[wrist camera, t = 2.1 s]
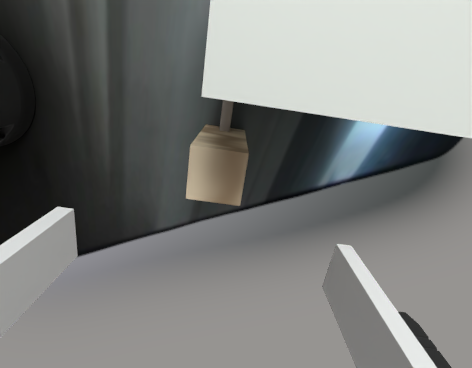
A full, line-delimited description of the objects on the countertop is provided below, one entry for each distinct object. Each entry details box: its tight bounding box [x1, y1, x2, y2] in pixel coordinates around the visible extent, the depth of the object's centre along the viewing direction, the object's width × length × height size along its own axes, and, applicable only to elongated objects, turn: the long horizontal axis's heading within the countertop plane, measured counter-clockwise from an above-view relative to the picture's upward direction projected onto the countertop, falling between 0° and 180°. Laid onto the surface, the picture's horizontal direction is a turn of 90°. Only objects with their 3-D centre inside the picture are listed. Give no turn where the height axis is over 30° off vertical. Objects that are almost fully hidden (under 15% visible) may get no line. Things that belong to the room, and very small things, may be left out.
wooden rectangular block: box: [186, 100, 249, 206], centre depth 27 cm, size 5×15×12 cm, turn 172°
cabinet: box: [201, 0, 472, 138], centre depth 20 cm, size 16×14×20 cm
